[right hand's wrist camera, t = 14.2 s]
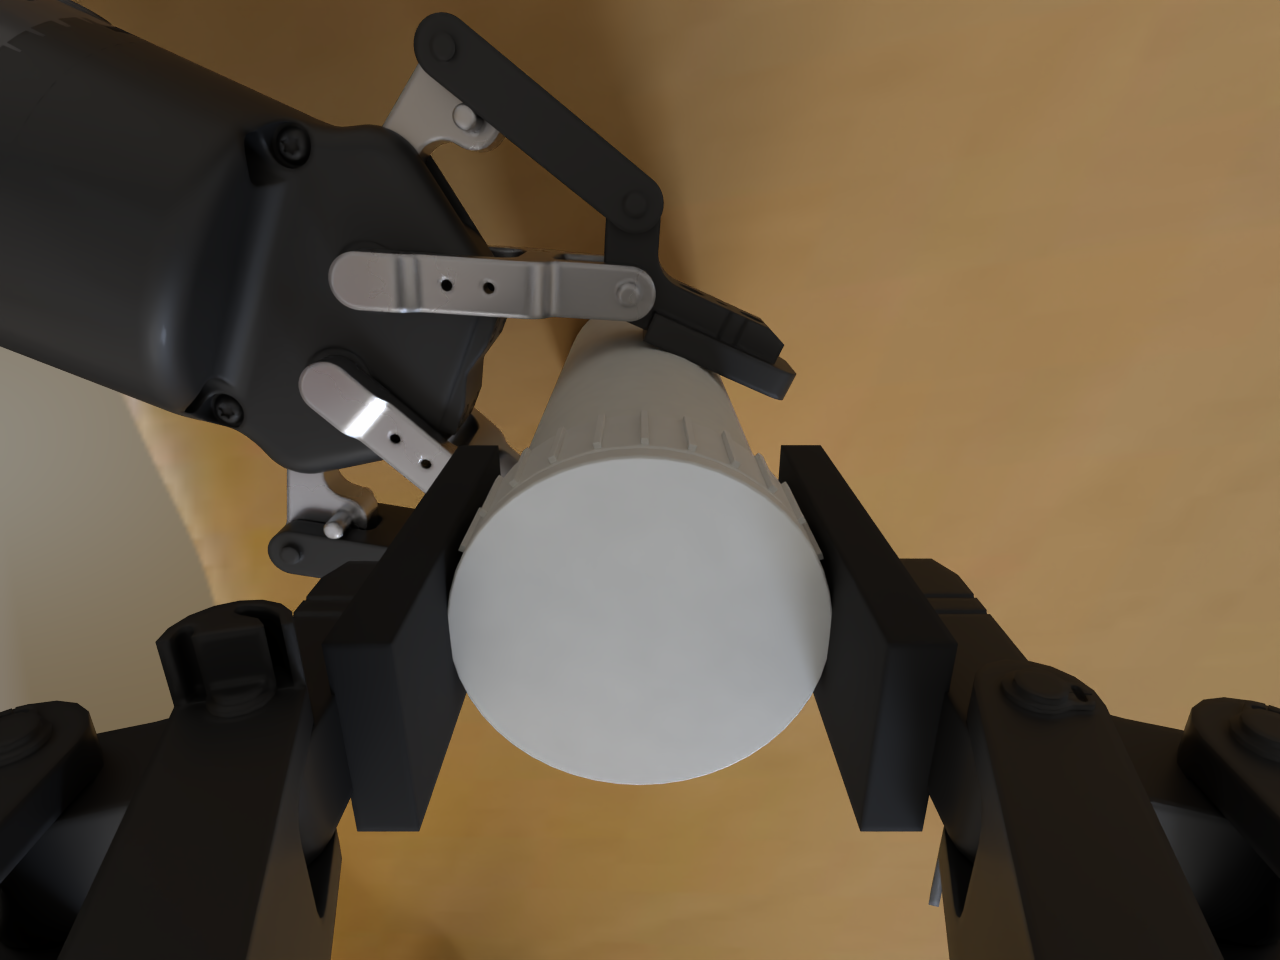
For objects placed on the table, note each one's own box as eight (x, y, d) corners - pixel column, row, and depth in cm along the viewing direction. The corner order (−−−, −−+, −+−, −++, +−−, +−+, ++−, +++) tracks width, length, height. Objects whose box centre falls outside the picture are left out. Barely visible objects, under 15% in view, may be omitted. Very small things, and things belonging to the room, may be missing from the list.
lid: (504, 367, 11) (478, 402, 9) (860, 458, 11) (901, 508, 10) (445, 671, 13) (413, 748, 11) (748, 736, 13) (765, 819, 12)
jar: (741, 376, 25) (870, 621, 11) (636, 467, 26) (631, 792, 12) (643, 267, 24) (649, 387, 10) (537, 369, 25) (406, 606, 11)
